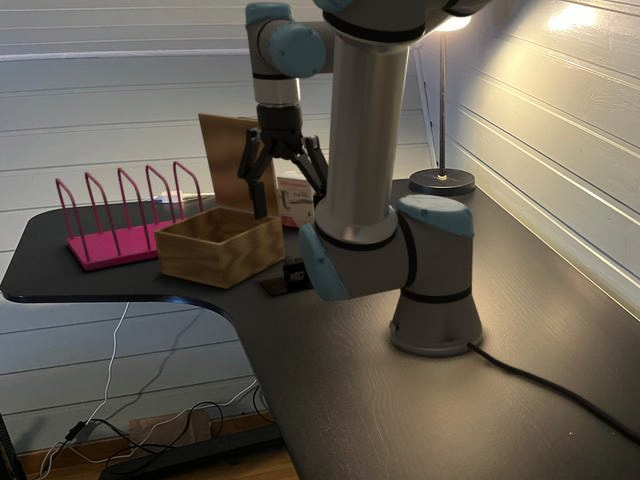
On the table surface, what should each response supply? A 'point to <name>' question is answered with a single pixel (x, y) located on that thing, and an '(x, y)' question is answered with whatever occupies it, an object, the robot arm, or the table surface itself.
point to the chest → (219, 246)
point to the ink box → (295, 199)
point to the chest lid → (234, 162)
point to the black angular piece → (289, 278)
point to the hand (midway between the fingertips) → (291, 223)
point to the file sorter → (121, 242)
